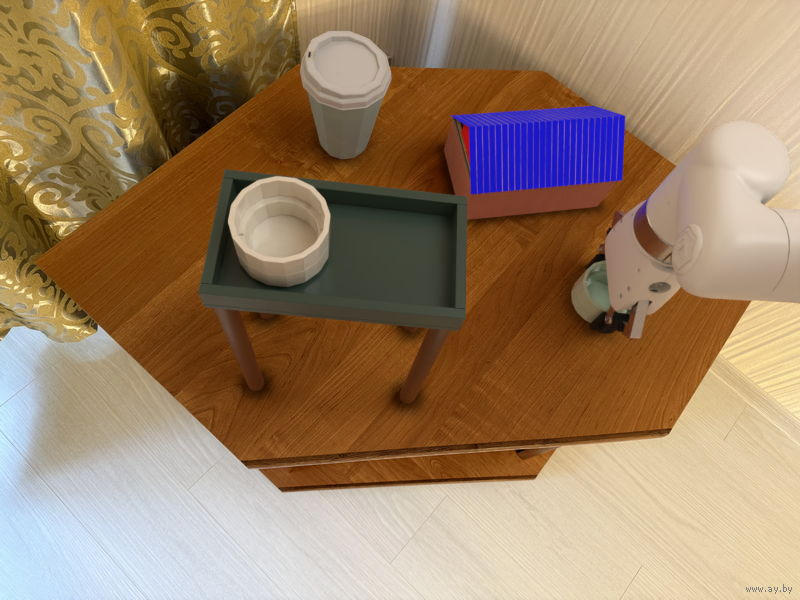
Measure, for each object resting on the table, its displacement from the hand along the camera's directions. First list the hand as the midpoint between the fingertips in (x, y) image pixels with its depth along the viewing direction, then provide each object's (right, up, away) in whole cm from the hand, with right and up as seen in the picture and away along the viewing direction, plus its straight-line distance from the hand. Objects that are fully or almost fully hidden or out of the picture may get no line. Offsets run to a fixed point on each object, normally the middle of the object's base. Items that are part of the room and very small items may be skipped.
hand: (599, 298), depth 75 cm
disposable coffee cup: (-33, +21, +6) cm, 39 cm away
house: (-9, +16, +7) cm, 20 cm away
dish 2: (0, 0, +1) cm, 1 cm away
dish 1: (-34, +4, -29) cm, 45 cm away
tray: (-32, -6, -6) cm, 34 cm away
